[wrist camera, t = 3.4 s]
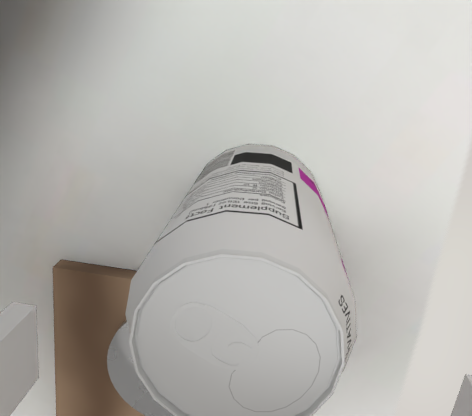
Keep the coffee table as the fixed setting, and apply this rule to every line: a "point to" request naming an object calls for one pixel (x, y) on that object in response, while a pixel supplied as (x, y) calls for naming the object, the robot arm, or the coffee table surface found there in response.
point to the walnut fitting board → (88, 337)
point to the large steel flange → (130, 376)
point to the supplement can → (244, 294)
